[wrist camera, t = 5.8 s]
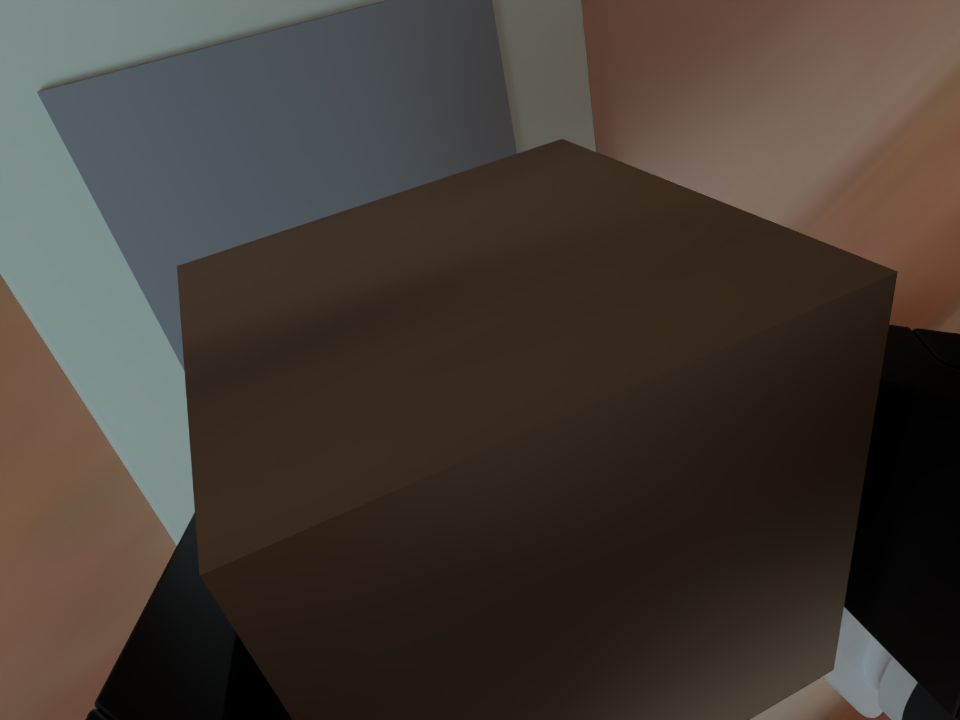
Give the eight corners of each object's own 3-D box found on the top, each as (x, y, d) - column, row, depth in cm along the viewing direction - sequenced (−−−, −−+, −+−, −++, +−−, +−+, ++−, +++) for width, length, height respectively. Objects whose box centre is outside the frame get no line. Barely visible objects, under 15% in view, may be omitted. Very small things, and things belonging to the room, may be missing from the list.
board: (604, 403, 21) (626, 425, 20) (211, 574, 18) (214, 608, 17) (522, -309, 12) (554, -335, 11) (-266, -184, 9) (-315, -201, 8)
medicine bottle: (645, 492, 24) (987, 854, 14) (799, 347, 23) (1260, 615, 13) (723, 569, 28) (1027, 888, 18) (855, 448, 27) (1237, 707, 18)
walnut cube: (599, 430, 12) (833, 670, 8) (317, 555, 11) (418, 914, 6) (561, 138, 9) (897, 271, 5) (176, 265, 8) (198, 577, 4)
